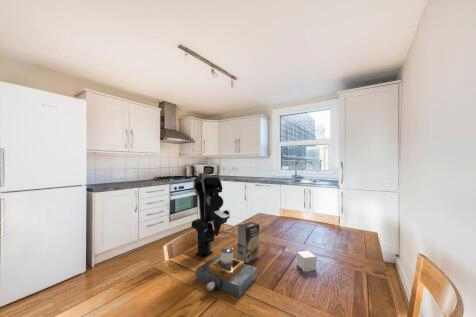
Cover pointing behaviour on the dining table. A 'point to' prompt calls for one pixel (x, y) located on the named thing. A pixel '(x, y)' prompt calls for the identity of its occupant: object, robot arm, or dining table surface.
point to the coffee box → (248, 242)
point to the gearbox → (227, 276)
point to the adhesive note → (306, 260)
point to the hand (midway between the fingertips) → (210, 239)
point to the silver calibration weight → (227, 258)
